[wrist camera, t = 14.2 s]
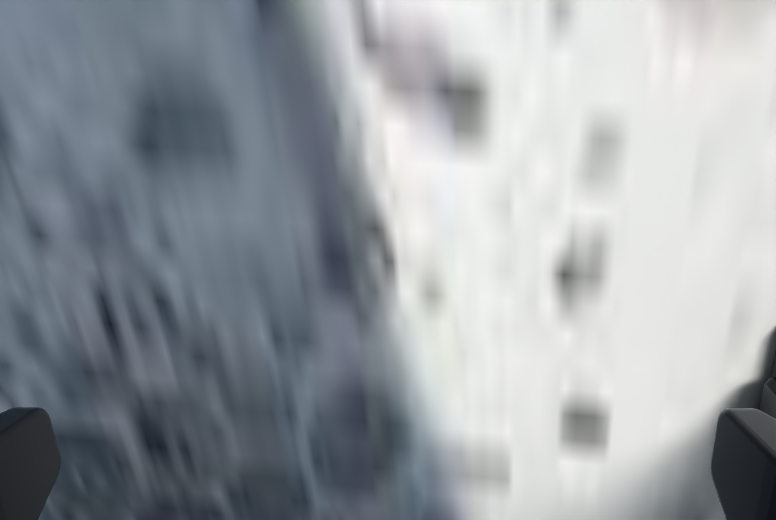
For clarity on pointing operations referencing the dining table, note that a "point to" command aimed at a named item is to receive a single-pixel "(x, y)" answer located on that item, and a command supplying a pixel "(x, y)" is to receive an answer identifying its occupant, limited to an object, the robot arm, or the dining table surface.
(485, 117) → the dining table surface
